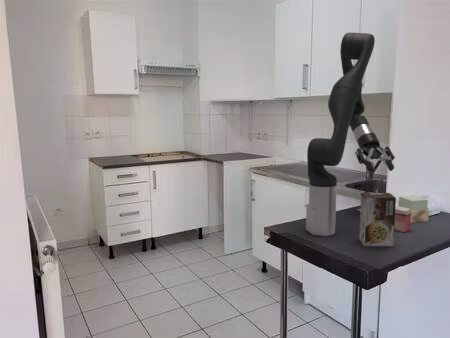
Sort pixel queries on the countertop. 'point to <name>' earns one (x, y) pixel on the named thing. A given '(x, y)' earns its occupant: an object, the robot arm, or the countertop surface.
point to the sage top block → (413, 202)
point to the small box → (402, 219)
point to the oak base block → (419, 216)
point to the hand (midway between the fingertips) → (382, 170)
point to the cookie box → (377, 219)
